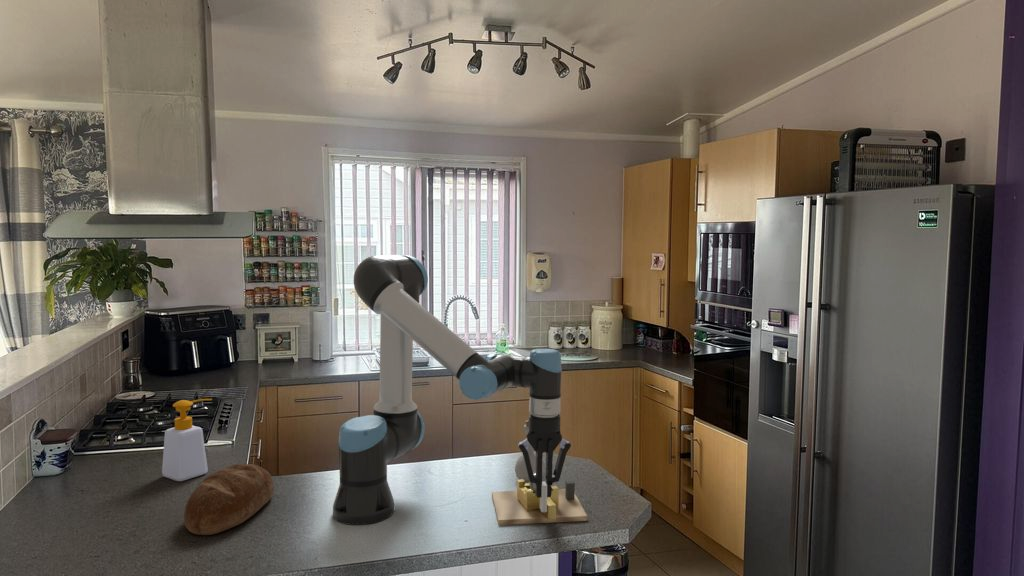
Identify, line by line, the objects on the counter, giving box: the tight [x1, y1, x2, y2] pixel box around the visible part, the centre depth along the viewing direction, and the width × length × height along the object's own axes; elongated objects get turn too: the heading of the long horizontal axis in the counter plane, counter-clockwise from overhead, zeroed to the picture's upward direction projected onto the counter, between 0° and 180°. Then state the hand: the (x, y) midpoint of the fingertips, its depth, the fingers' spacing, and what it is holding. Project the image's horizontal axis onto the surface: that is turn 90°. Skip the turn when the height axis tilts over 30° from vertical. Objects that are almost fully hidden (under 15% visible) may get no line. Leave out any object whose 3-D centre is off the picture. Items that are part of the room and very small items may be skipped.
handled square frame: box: [516, 479, 560, 520], centre depth 165 cm, size 15×8×5 cm, turn 17°
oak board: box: [491, 488, 588, 526], centre depth 169 cm, size 22×18×1 cm
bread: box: [183, 463, 275, 536], centre depth 165 cm, size 16×29×11 cm, turn 174°
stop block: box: [564, 480, 576, 500], centre depth 172 cm, size 2×2×4 cm
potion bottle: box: [514, 419, 546, 484], centre depth 188 cm, size 9×9×18 cm
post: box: [530, 471, 546, 493], centre depth 169 cm, size 4×4×9 cm
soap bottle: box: [161, 398, 213, 482], centre depth 192 cm, size 10×14×22 cm
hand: (543, 509), depth 159 cm, fingers closed
